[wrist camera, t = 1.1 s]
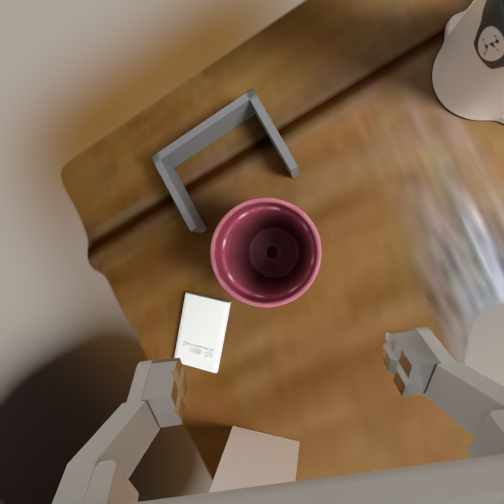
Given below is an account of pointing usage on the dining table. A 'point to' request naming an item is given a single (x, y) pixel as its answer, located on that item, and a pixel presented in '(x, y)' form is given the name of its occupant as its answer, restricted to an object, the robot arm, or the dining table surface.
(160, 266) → the dining table surface
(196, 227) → the frame
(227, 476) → the milk
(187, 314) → the external hard drive
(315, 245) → the plant pot
